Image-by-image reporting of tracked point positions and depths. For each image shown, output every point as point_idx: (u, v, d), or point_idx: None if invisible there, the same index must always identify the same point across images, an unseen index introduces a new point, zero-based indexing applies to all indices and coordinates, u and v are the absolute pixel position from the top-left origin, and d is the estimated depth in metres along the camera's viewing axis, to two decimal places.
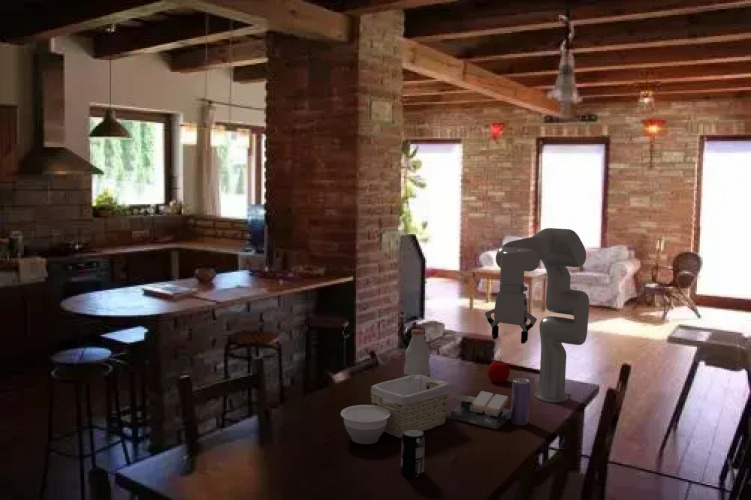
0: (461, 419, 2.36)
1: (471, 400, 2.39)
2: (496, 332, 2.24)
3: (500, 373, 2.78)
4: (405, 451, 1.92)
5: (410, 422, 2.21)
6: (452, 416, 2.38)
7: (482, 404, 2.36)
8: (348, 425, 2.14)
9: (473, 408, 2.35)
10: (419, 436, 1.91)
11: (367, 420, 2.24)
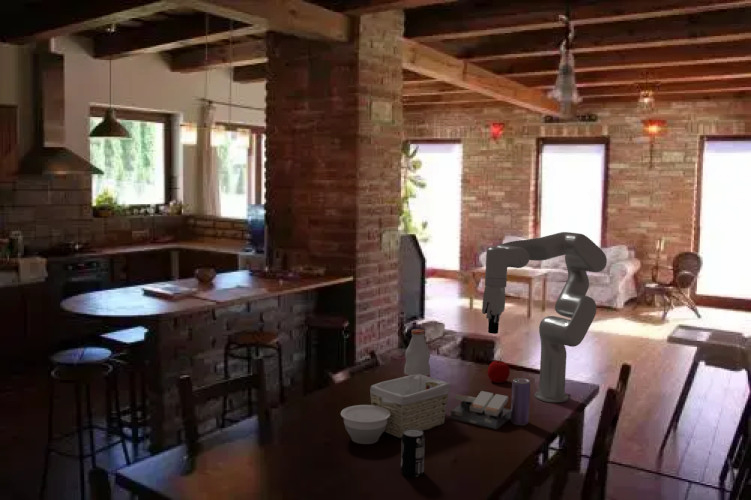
0: (461, 419, 2.36)
1: (471, 400, 2.39)
2: None
3: (500, 373, 2.78)
4: (405, 451, 1.92)
5: (409, 422, 2.21)
6: (452, 416, 2.38)
7: (482, 404, 2.36)
8: (348, 425, 2.14)
9: (473, 408, 2.35)
10: (419, 436, 1.91)
11: (367, 420, 2.24)
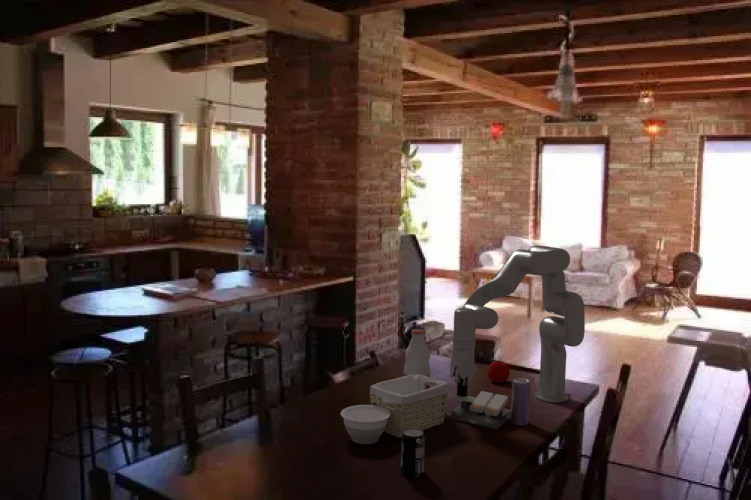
0: (461, 419, 2.36)
1: (471, 400, 2.39)
2: None
3: (500, 373, 2.78)
4: (405, 451, 1.92)
5: (409, 422, 2.21)
6: (452, 416, 2.38)
7: (482, 404, 2.36)
8: (348, 425, 2.14)
9: (473, 408, 2.35)
10: (419, 436, 1.91)
11: (367, 420, 2.24)
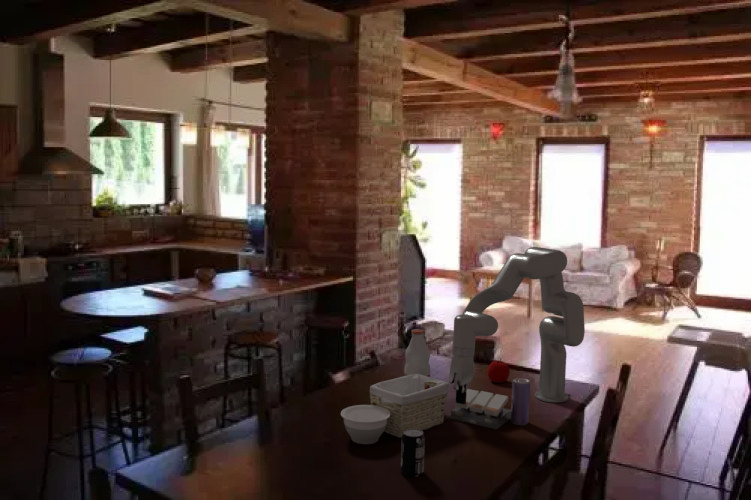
0: (461, 419, 2.36)
1: (471, 402, 2.39)
2: None
3: (500, 373, 2.78)
4: (405, 451, 1.92)
5: (409, 422, 2.21)
6: (452, 416, 2.38)
7: (482, 404, 2.36)
8: (348, 425, 2.14)
9: (473, 408, 2.35)
10: (419, 436, 1.91)
11: (367, 420, 2.24)
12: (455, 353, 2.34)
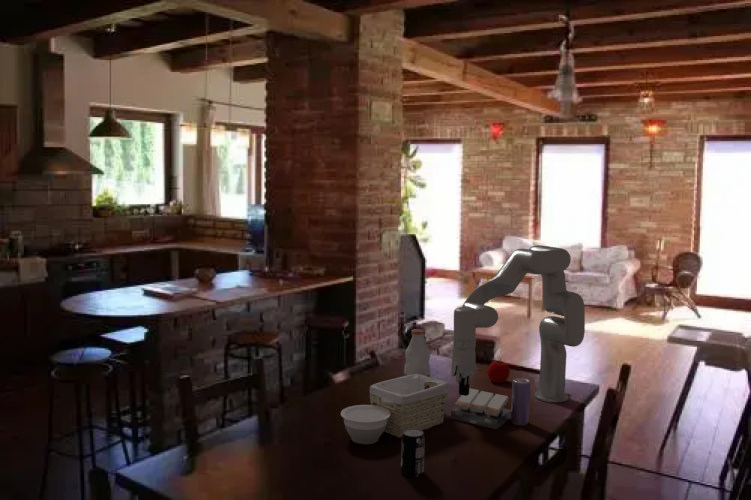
0: (461, 419, 2.36)
1: (471, 402, 2.39)
2: None
3: (500, 373, 2.78)
4: (405, 451, 1.92)
5: (409, 421, 2.21)
6: (452, 416, 2.38)
7: (482, 404, 2.36)
8: (348, 425, 2.14)
9: (473, 408, 2.35)
10: (419, 436, 1.91)
11: (367, 420, 2.24)
12: (456, 346, 2.34)
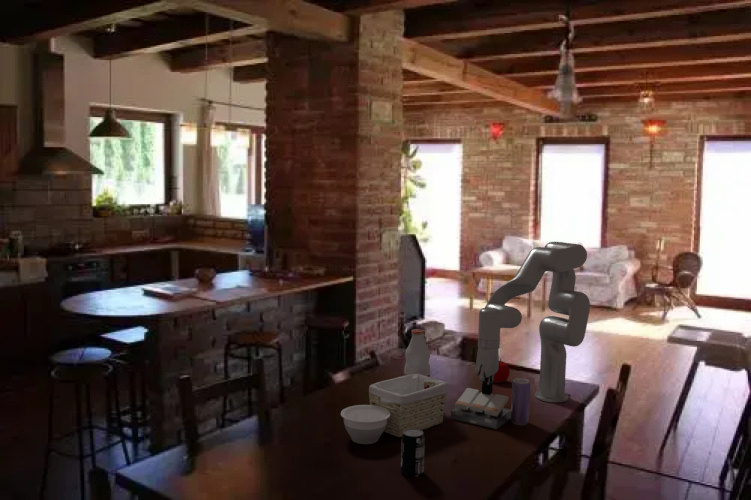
0: (461, 419, 2.36)
1: (471, 402, 2.39)
2: None
3: (500, 373, 2.78)
4: (404, 451, 1.92)
5: (408, 421, 2.21)
6: (452, 416, 2.38)
7: (482, 404, 2.36)
8: (348, 425, 2.14)
9: (473, 407, 2.35)
10: (419, 436, 1.91)
11: (367, 420, 2.24)
12: (481, 345, 2.38)
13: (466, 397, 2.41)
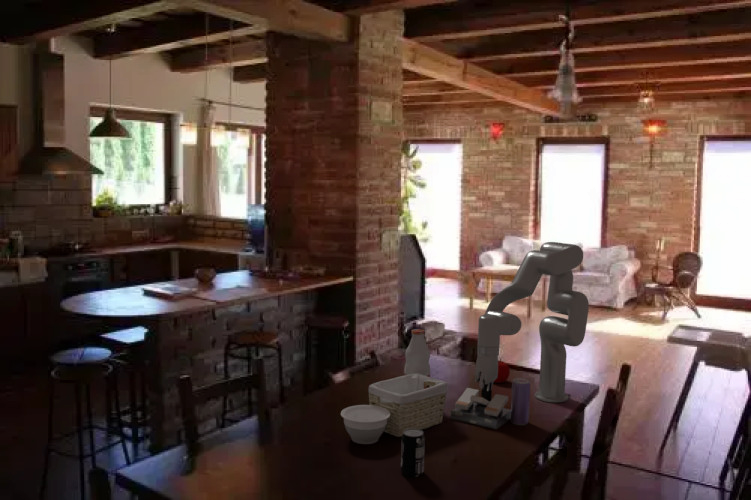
0: (461, 419, 2.36)
1: (471, 402, 2.39)
2: None
3: (500, 373, 2.78)
4: (405, 451, 1.92)
5: (408, 421, 2.22)
6: (452, 416, 2.38)
7: None
8: (348, 425, 2.14)
9: (474, 397, 2.35)
10: (419, 436, 1.91)
11: (367, 420, 2.24)
12: (480, 352, 2.38)
13: (466, 397, 2.41)
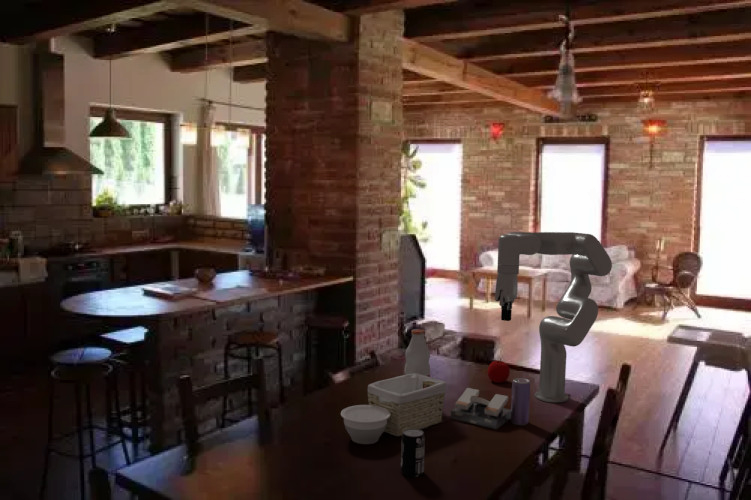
0: (461, 419, 2.36)
1: (471, 402, 2.39)
2: None
3: (500, 373, 2.78)
4: (405, 451, 1.92)
5: (407, 420, 2.22)
6: (452, 416, 2.38)
7: None
8: (348, 425, 2.14)
9: (474, 397, 2.35)
10: (419, 436, 1.91)
11: (367, 420, 2.24)
12: (500, 271, 2.41)
13: (466, 397, 2.41)
